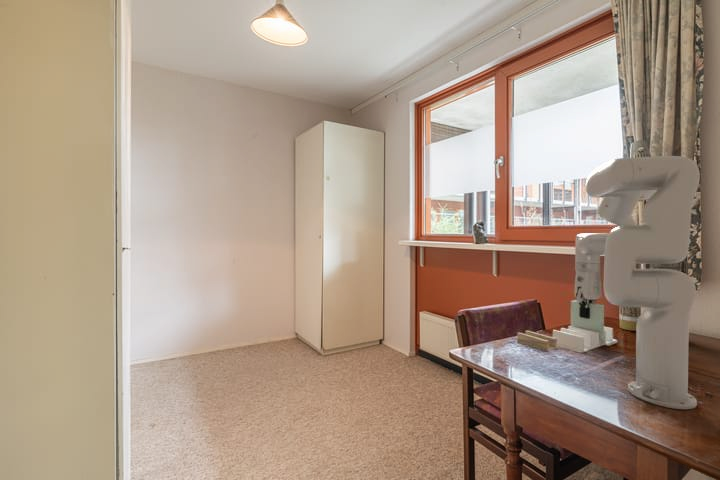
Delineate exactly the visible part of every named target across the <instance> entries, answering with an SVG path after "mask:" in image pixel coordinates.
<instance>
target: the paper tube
mask: <svg viewBox="0 0 720 480" xmlns="http://www.w3.org/2000/svg"><path fill="white" fill-rule="evenodd" d="M641 313H642V307H623V306H619V328H621V329H623V330H626V331H632V332H636V325H637V320H638V318H639V316H640V315H641Z"/></svg>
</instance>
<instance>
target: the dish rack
mask: <svg viewBox="0 0 720 480" xmlns="http://www.w3.org/2000/svg"><path fill="white" fill-rule="evenodd" d="M552 337H553V338H557V347H559V348H560V347H561V348H563V349H567V350H571V351H574V352H578V353H580V354H581V353H584V352H587V351H590V350H593V349H596V348H599V347H602V346H609V347H610V346H612V345H616V344H618V339H615V338H614V328H613V327H609V326H604V339H601V340H599V333H598V332H594V331H590V330H585V329H581V328H577V327H572V326H571V325H568V326H567V328H565V327H561V328H560V330H558V329H557V330H556V329H553V330H552Z"/></svg>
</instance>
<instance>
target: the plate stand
mask: <svg viewBox="0 0 720 480" xmlns="http://www.w3.org/2000/svg"><path fill="white" fill-rule="evenodd" d="M516 335H517V336H516V342H517V343H519V344H524V345H526V346H530V347H534V348H537V349H540V350H541V351H542V350H543V351H546V352H548V351H551V350H555V349H559V348H560V347H559V346H557V338H553V336H549V335H546V334H541V333H538V332H535V331H531V330H525V333H523V332H517V333H516Z"/></svg>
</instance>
